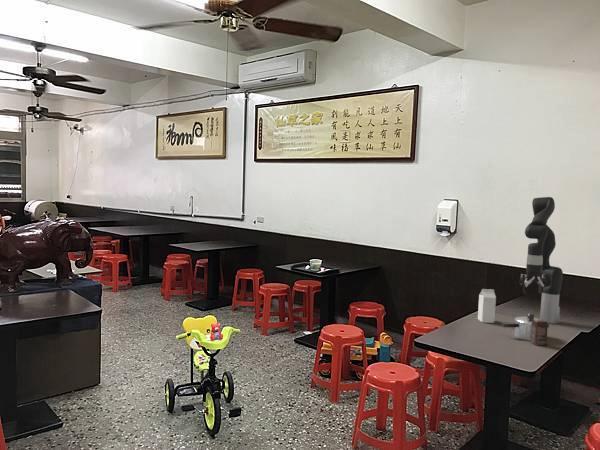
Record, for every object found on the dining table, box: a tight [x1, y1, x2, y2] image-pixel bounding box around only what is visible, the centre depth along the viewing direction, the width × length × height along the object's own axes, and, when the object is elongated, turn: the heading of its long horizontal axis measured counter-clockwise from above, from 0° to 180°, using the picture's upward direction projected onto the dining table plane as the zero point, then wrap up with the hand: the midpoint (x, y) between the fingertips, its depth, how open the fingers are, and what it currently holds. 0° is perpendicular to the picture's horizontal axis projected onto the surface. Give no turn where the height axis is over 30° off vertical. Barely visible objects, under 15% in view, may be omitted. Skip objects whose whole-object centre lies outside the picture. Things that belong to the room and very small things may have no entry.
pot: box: [501, 321, 550, 341], centre depth 243 cm, size 25×14×8 cm, turn 95°
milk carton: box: [477, 288, 497, 324], centre depth 271 cm, size 7×7×19 cm
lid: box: [514, 312, 541, 326], centre depth 243 cm, size 15×15×4 cm
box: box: [530, 320, 549, 346], centre depth 231 cm, size 6×4×12 cm
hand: (532, 293), depth 246 cm, fingers open, 8 cm apart
